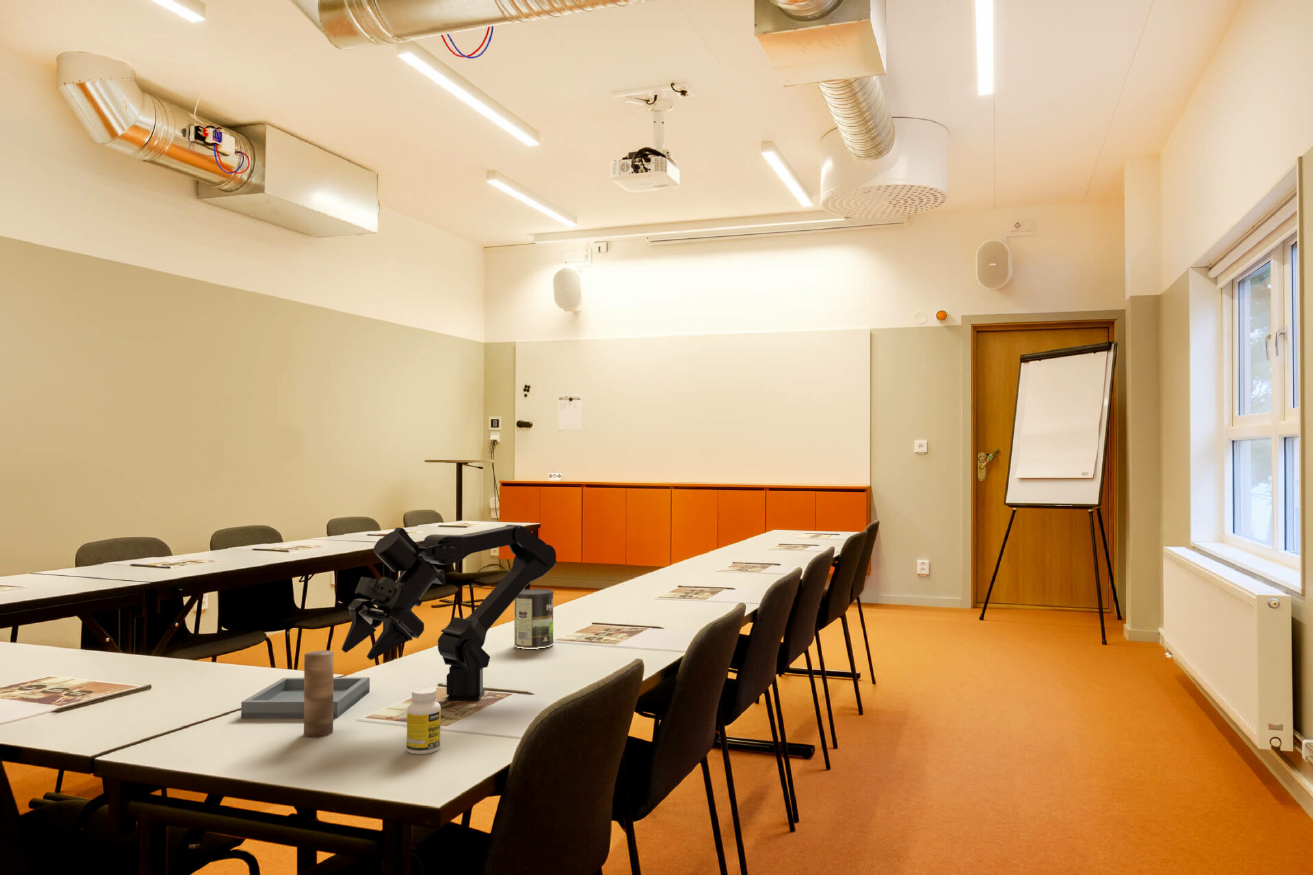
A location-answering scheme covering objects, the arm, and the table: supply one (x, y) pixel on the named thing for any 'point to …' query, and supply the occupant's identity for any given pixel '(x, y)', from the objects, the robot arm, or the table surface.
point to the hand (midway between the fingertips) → (355, 654)
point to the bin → (301, 698)
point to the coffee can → (533, 618)
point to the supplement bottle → (423, 722)
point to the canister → (318, 693)
